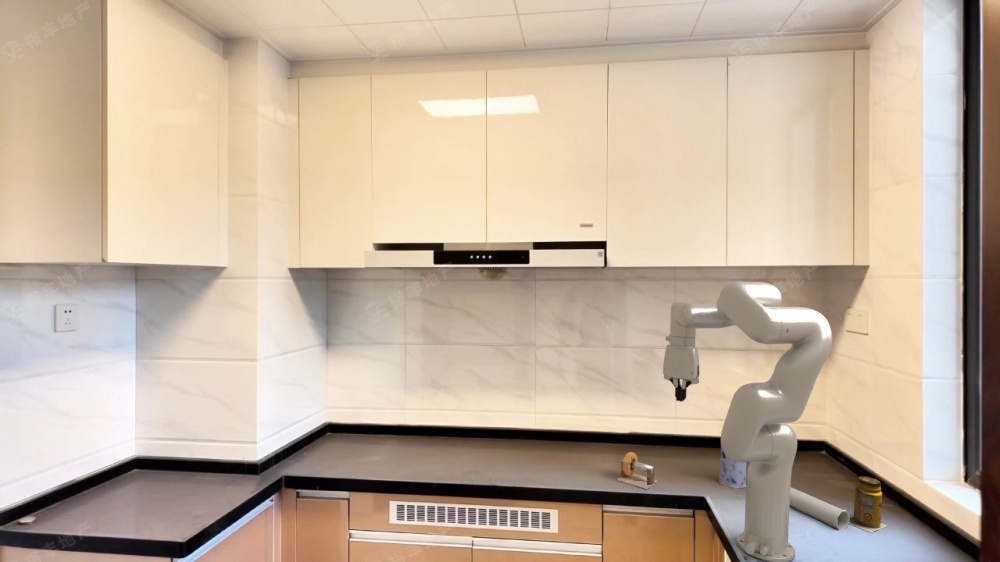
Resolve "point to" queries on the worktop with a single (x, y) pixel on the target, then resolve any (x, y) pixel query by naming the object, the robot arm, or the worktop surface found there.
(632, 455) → the o ring
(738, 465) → the aerosol can
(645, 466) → the pipe
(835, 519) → the tube
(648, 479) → the base board
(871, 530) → the condiment
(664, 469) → the worktop surface
